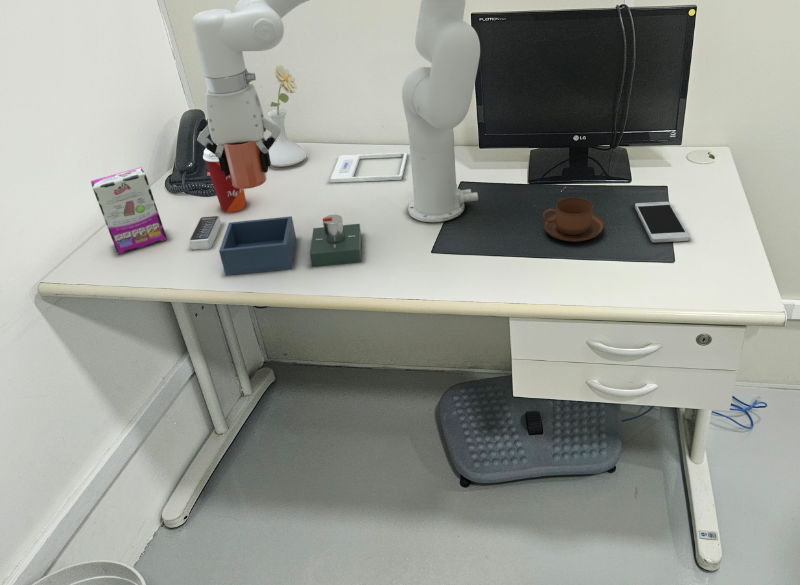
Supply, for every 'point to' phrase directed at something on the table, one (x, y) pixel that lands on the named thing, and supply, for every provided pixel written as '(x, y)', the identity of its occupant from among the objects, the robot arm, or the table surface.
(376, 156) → the photo frame
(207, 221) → the multiport hub
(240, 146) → the cup
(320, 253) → the green dial base
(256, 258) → the basin
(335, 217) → the rotary dial knob
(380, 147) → the table surface
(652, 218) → the smartphone
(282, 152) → the flower in vase
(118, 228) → the candy bar box
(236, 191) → the coffee cup
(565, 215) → the cup and saucer
